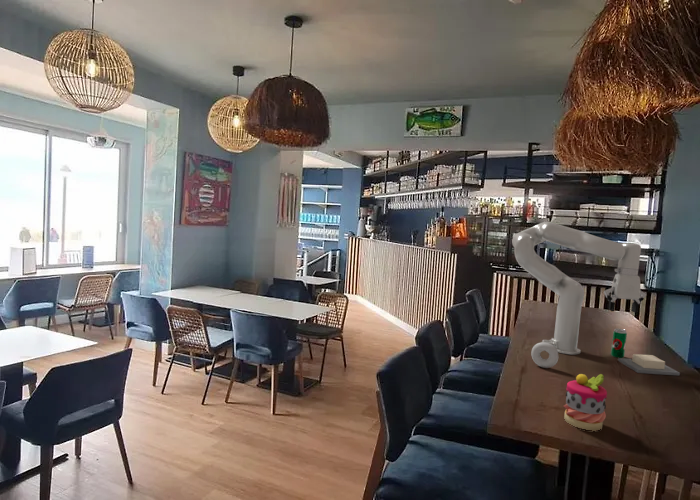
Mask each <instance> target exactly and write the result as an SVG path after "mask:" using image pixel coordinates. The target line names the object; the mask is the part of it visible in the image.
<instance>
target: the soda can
mask: <svg viewBox="0 0 700 500" xmlns="http://www.w3.org/2000/svg"><path fill="white" fill-rule="evenodd" d="M627 335H628V332H627V329H623V328H618V327H617V328H614V330H613V332H612V343H611V348H610V349H611V350H610V355H611V357H613V358H617V359H618V358H625V353H626V346H627V345H626V343H627Z"/></svg>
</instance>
